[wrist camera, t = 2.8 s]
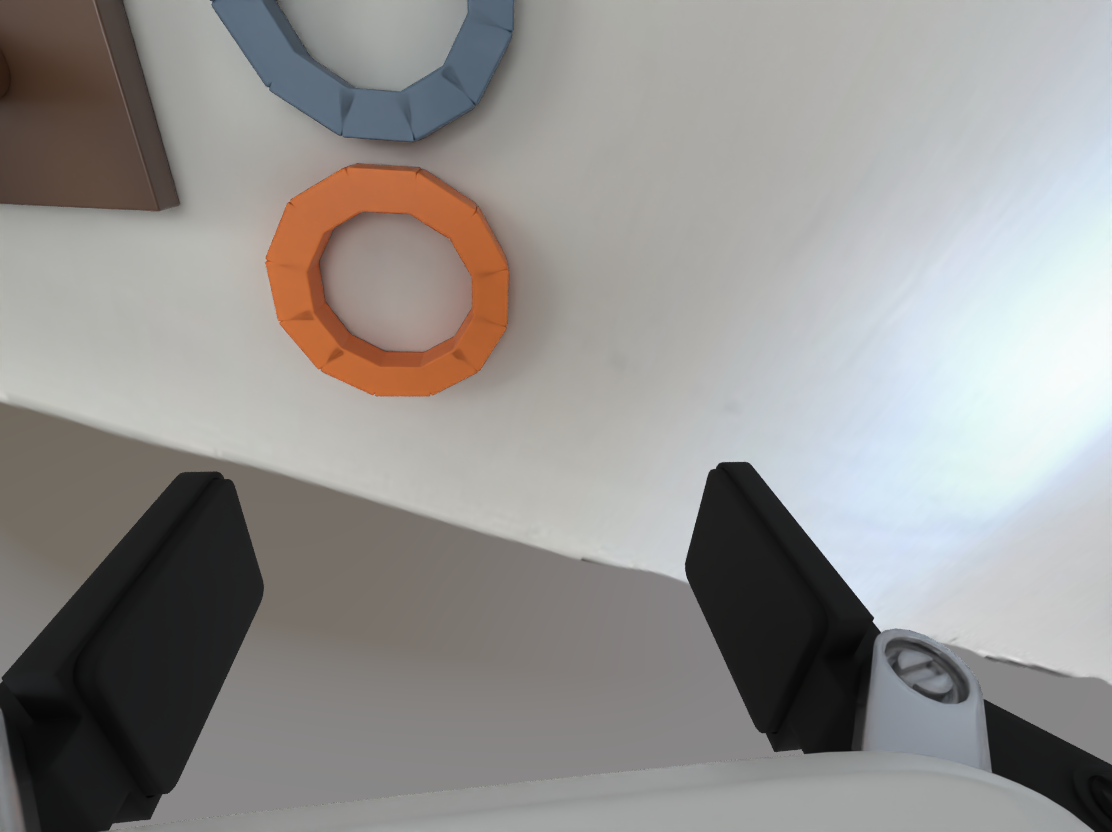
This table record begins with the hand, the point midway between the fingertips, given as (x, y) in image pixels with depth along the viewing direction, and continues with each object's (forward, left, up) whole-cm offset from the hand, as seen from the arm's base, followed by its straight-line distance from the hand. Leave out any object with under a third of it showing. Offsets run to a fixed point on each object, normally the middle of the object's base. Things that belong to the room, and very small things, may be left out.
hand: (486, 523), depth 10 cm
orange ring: (+4, 0, -16) cm, 17 cm away
